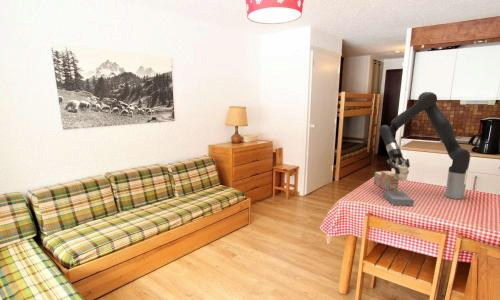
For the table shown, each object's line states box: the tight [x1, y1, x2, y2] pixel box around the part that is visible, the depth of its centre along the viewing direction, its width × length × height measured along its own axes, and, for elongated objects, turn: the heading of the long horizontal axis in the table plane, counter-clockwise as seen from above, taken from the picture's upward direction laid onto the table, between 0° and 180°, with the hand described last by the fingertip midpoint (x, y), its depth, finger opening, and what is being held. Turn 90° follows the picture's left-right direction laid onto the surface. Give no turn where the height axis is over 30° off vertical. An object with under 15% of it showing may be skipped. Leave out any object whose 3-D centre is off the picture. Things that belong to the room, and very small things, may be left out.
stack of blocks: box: [373, 170, 400, 191], centre depth 203 cm, size 21×6×12 cm, turn 4°
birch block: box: [394, 165, 409, 181], centre depth 173 cm, size 5×5×8 cm
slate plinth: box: [382, 190, 415, 207], centre depth 176 cm, size 12×16×4 cm
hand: (403, 173), depth 171 cm, fingers closed on birch block, 5 cm apart
